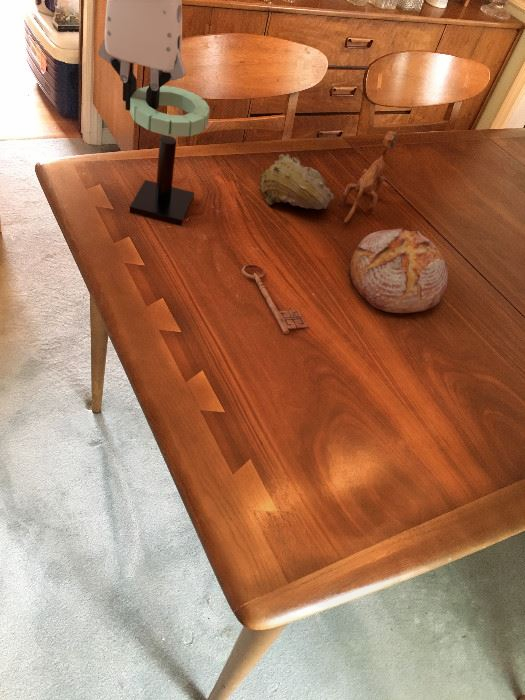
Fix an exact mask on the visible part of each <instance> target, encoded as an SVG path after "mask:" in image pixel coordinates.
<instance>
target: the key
mask: <svg viewBox="0 0 525 700" xmlns="http://www.w3.org/2000/svg"><path fill="white" fill-rule="evenodd" d="M246 269H255V270H258V271H259V272H260V273H261V274H259V275H258V274H257V273H256V272H253V274H249V273H248V272H246ZM265 273H266V272H265V270H264V268H262V267H260V266H259V265H256V264H247V265H243V267H242V268H241V274H242V275H243V276H245V277H247V278H248V279H252V280H255V282H256V284H257V287H258V288H259V291H260V292H261V294H262V296H263V297H264V299H265V301H266V303H267V305H268V306H269V308H270V311H271V312H272V314H273V316H274V318H275V319H276V321H277V323H278V325H279V327H280V329H281V330H282V332H283V334H284V335H287V334H289V333H290V330H293V329H295V330H296V329H304V328H308V325H307V323H306V321H305V319H304V318H303V316H302V314H301V312H300V311H299V310H298V309H291V310H278V308H277V306H276V304H275V302H274V301H273V299H272V297H271V295H270V294H269V292H268V290H267V287H266V286H265V284H264V283H263V281H262V278H263V277H264V276H265Z"/></svg>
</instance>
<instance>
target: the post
mask: <svg viewBox="0 0 525 700" xmlns="http://www.w3.org/2000/svg"><path fill="white" fill-rule="evenodd" d="M158 146H159V147H158V156H157V158H158V159H157V173H156V181H151V180H148V179H144V181H143V183H142V184H141V186H140V188H139V190H138V192H137V194H136V195H135V197H134V198H133V200H132V201H131V204H130V205H129V213H130V214H134V215H138V216H143V217H145V218H150V219H154V220H158V221H161V222H165V223H169V224H174V225H176V226H182V225H183V223H184V221H185V220H186V217H187V214H188V212H189V210H190V207H191V205H192V203H193V201H194V199H195V192H194V191H190V190H187V189H182V188H178V187H174V186H173V180H174V169H175V161H176V160H175V158H176V149H177V139H176V138H175V137H174V136H171V135H169V136H166V135H162V136H160V137H159V145H158Z"/></svg>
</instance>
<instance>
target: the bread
mask: <svg viewBox="0 0 525 700" xmlns="http://www.w3.org/2000/svg"><path fill="white" fill-rule="evenodd" d="M359 242H360V243H359V244H358V245H356V249H355V250H354V252H353V254H352V256H351V260H350V264H349V272H350V280H351V282H352V285H353V286H354V288H355V289H356V290H357V293H358V294H359V295H360V296H362V298H364V299H365V300H366V301H367V302H368V303H369V305H371V306H372V307H373V308H375V309H377V310H380V311H383V312H386V313H393V314H410V313H421V312H425V311H427V310H430V309H433V308H435V307H436V306H437V305H439V304H440V303H441V301H442V299H443V296H444V294H445V292H446V290H447V286H448V280H449V279H448V278H449V275H448V274H449V273H448V267H447V266H448V265H447V263H446V260H445V258H444V257H443V255H442V254H441V252H440V249H438V248H437V246H435V244H434V243H433V242H432V241H431V240H430V239H428V238H427V237H425V236H424V235H423V234H421V233H420V231H419V230H411V231H410V230H407V229H405V228H403V227H402V228H394V229H393V228H391V229H383V230H379V231H378V230H377V231H375V232H371V233H369V234H368V235H366V236H365V237H364V238H363V239H361V240H360V241H359Z"/></svg>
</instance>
